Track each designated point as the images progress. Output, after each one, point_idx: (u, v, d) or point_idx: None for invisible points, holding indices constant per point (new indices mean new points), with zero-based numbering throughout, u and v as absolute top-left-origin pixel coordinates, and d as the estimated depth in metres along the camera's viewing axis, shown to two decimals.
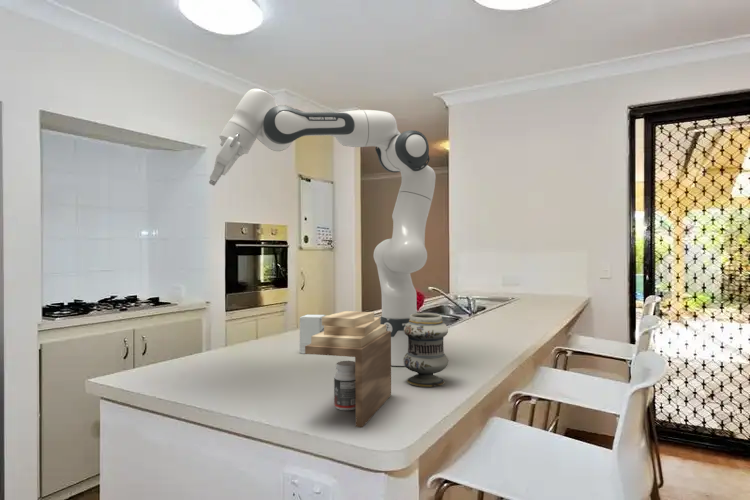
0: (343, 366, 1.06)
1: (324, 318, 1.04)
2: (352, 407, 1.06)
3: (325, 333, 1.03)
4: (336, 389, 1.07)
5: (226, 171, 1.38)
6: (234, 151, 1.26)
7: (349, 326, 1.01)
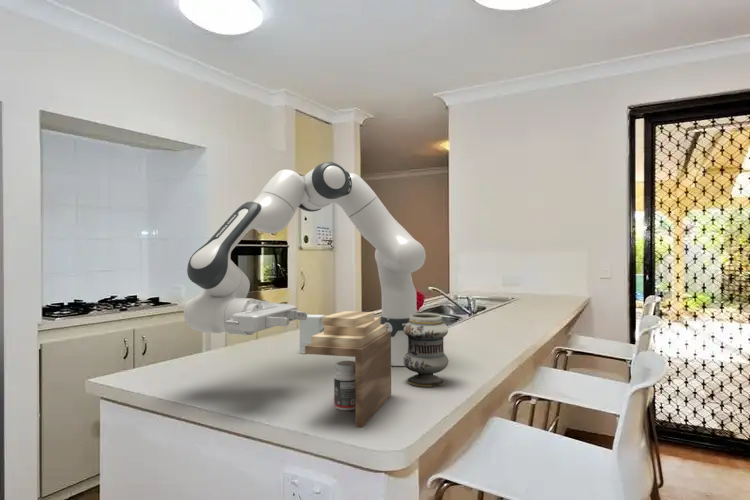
0: (343, 366, 1.06)
1: (324, 318, 1.04)
2: (352, 407, 1.06)
3: (325, 333, 1.03)
4: (336, 389, 1.07)
5: (284, 308, 1.17)
6: (241, 317, 1.06)
7: (349, 326, 1.01)
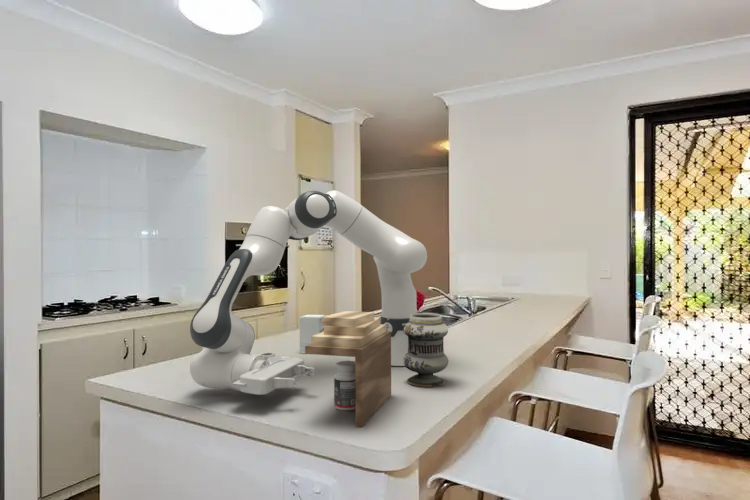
0: (343, 366, 1.06)
1: (324, 318, 1.04)
2: (352, 407, 1.06)
3: (325, 333, 1.03)
4: (336, 389, 1.07)
5: (291, 364, 1.17)
6: (248, 379, 1.05)
7: (349, 326, 1.01)
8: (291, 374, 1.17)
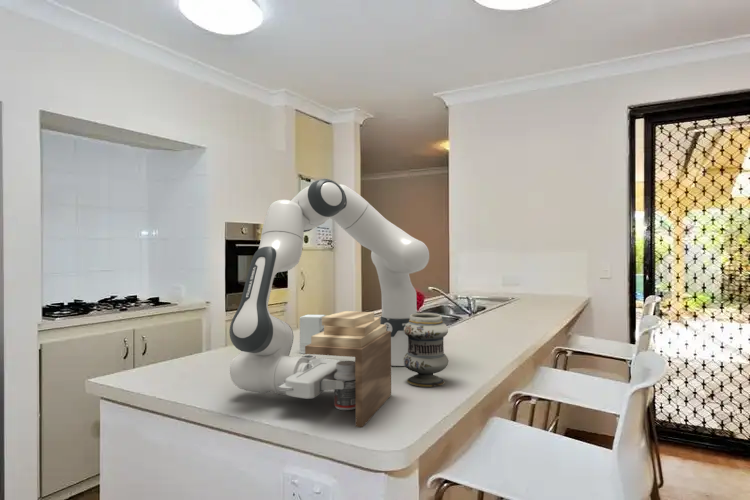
0: (343, 366, 1.06)
1: (324, 318, 1.04)
2: (352, 407, 1.06)
3: (325, 333, 1.03)
4: (336, 389, 1.07)
5: (334, 367, 1.13)
6: (295, 382, 1.02)
7: (349, 326, 1.01)
8: None
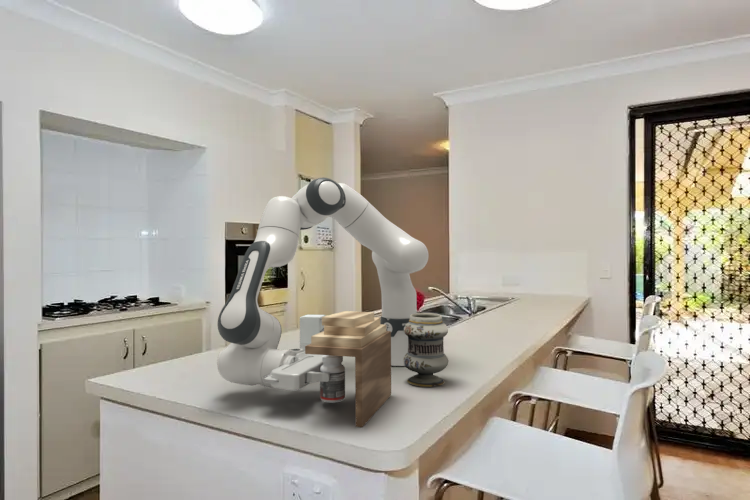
0: (329, 359, 1.07)
1: (324, 318, 1.04)
2: (337, 399, 1.07)
3: (325, 333, 1.03)
4: None
5: (321, 360, 1.14)
6: (281, 374, 1.03)
7: (349, 326, 1.01)
8: None
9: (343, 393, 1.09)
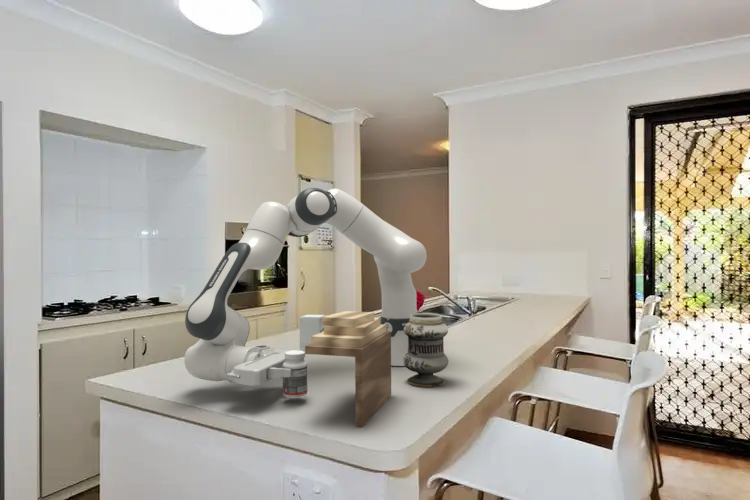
0: (290, 355, 1.10)
1: (324, 318, 1.04)
2: (299, 394, 1.10)
3: (325, 333, 1.03)
4: (284, 377, 1.11)
5: None
6: (242, 370, 1.06)
7: (349, 326, 1.01)
8: None
9: (305, 388, 1.12)
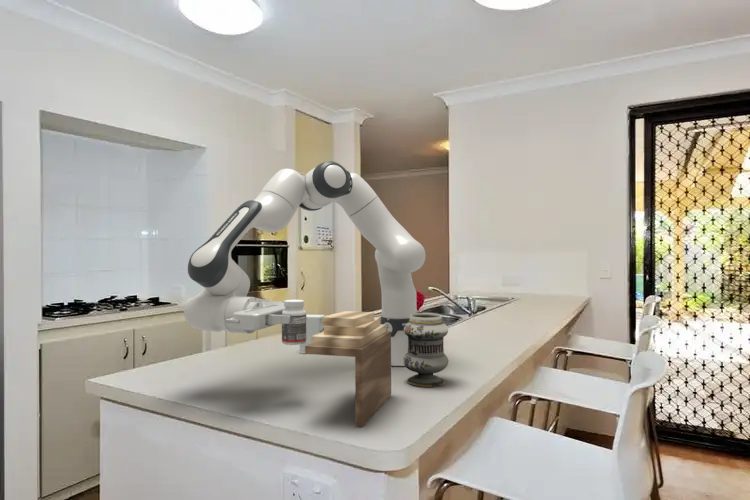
0: (290, 302, 1.10)
1: (324, 318, 1.04)
2: (298, 342, 1.10)
3: (325, 333, 1.03)
4: (283, 325, 1.11)
5: (284, 307, 1.17)
6: (241, 315, 1.06)
7: (349, 326, 1.01)
8: None
9: (304, 336, 1.12)
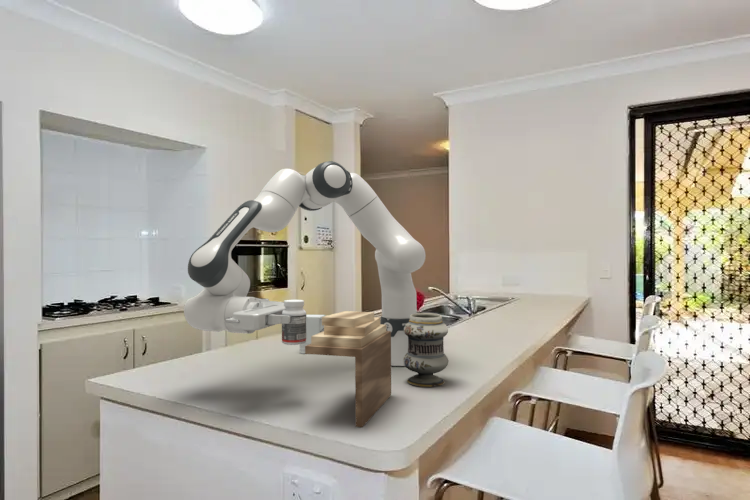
0: (290, 302, 1.10)
1: (324, 318, 1.04)
2: (298, 342, 1.10)
3: (325, 333, 1.03)
4: (283, 325, 1.11)
5: (284, 307, 1.17)
6: (241, 315, 1.06)
7: (349, 326, 1.01)
8: None
9: (304, 336, 1.12)
